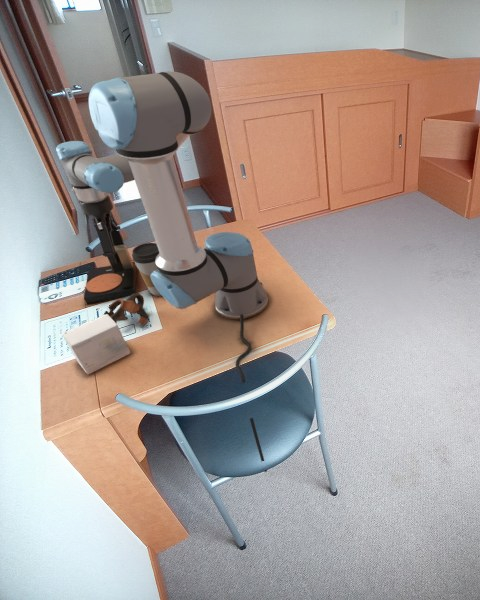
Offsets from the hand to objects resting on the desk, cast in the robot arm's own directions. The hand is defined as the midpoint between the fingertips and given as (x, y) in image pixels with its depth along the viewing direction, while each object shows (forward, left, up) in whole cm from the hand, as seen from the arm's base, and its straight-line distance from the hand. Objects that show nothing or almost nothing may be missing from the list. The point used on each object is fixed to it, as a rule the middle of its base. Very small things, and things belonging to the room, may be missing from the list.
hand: (120, 259), depth 135 cm
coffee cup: (-13, -10, -6) cm, 17 cm away
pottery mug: (-25, -2, -6) cm, 26 cm away
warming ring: (-7, +5, -3) cm, 9 cm away
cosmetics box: (-39, +4, -6) cm, 40 cm away
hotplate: (-4, +3, -6) cm, 7 cm away
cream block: (0, 0, -3) cm, 3 cm away
